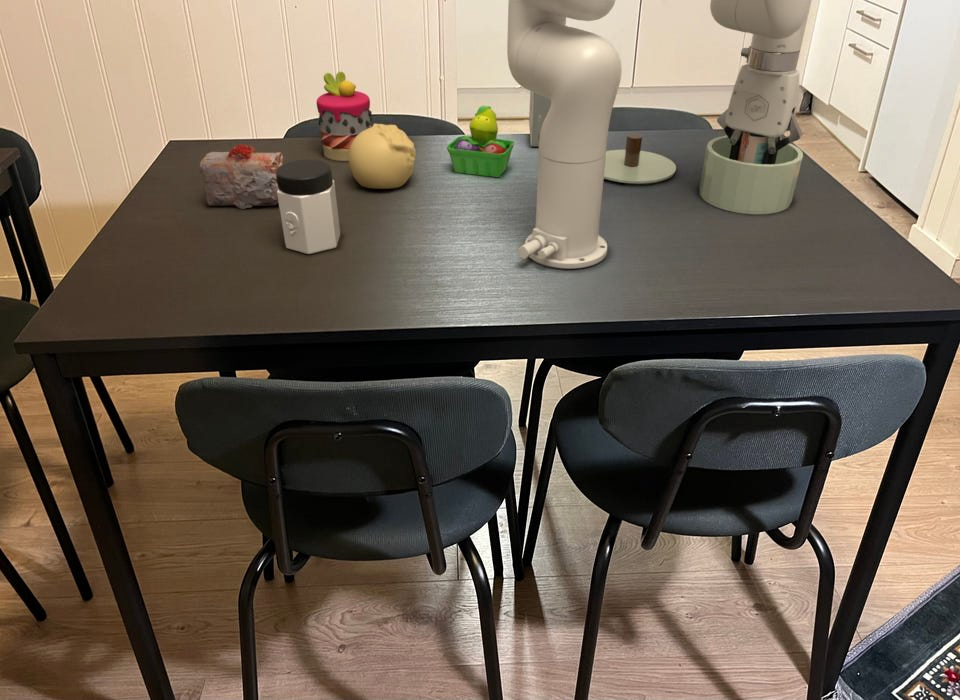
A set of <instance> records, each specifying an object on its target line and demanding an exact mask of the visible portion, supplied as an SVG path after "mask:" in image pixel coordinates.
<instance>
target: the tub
mask: <svg viewBox="0 0 960 700" xmlns="http://www.w3.org/2000/svg"><path fill="white" fill-rule="evenodd" d="M731 146H732V145H731V144H730V139H729V138H728V136H727V135H722V136H718V137H714V138H712V139H711V140H709V141H708V142H707V145H706V148H705V152H704V153H705V154H704V159H703V160H704V161H703V164H702V165H703V166H702V172H701V178H700V183H699V189H698V190H699V191H698V192H699V196H700V198H701V199H702V200H703V201H705V203H708V204H709V205H711V206H712V207H713V206H714V207H715V208H718V209H721V210H724V211H728V212H732V213H736V214H737V213H738V214H745V215H770V214H777V213H780V212H783V211H785V210H787V209H788V208H789V207H790V206H791V204H792V201H793V198H794V193H795V190H796V186H797V181H798V177H799V174H800V169H801V165H802V161H803V157H804V153H803V151H802V150H801V149H800V148H799V147H798V146H796V145H794V144H793V143H790V144H788V145H786V146H784V147H783V148H781V149H780V150H778V153H777V157H776V162H775V164H753V163H745V162H740V161H736V160H732V159H729V156H730V151H731Z"/></svg>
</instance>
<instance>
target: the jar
mask: <svg viewBox="0 0 960 700" xmlns="http://www.w3.org/2000/svg"><path fill="white" fill-rule="evenodd" d="M276 180H277V184H278V188H279V189H278V191H277V196H278V202H279V203H278V207H279V208H278V209H279V214H280V220H281V226H282V227H281V228H282V233H283V238H284V244H285V248H286V249H287V250H292V251H295V252H299V253H302V254H305V255H312V254H317V253H321V252H326V251H329V250H333V249H337V246H338V244H339V241H340V237H341V228H340V227H341V226H340V219H339V211H338V202H337V193H336V184H335V180H334V179H333V171H332V167H331V164H329V163H328V162H326V161H323V160H319V159H297V160H292V161H288V162H284V163H282V165H281V166H280V167H278V168H277V170H276Z"/></svg>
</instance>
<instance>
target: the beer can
mask: <svg viewBox="0 0 960 700" xmlns="http://www.w3.org/2000/svg"><path fill="white" fill-rule="evenodd" d="M767 150H768V136H763V135H758V134H754V133H749V132H744V131H743V133H742V139H741V144H740V149H739V154H738V159H737V161H740V162H745V163H753V164H762V161H763V157H764V153H765V152H767Z"/></svg>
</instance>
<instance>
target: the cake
mask: <svg viewBox="0 0 960 700" xmlns="http://www.w3.org/2000/svg"><path fill="white" fill-rule="evenodd" d="M323 81H324V83H325V84H324V85H323V89H324V90H325V93H323V94H321V95H319V96H318V97H317V99H316V109H317V112H318V118H319V119H318V126H320V130H319V132H318V133H319V135H321V136H322V138H321V144H322V148H323V155H324V157H325V158H327V159H330V160H333V161H338V162H349V151H350V147H351V144H352V142H353V140H354V139H355V137H356V136H357V135H358V134H359V133H361V132H362V131H364V130H366V129H368V128H371V127H372V125H371V124H372V123H371V122H372V121H373V116H372V110H370V108H371V99H370V97H369V95H368V94H366V93H364V92H362V91H358V90H356V87H357V85H356V84H355V83H353V82H352V81H350V80H346V74H345V73H344V72H343V71H338V72H337V73H336V74H335V77H334V75H333V74H332V73H330V72H326V73H325V74H323Z"/></svg>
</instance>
